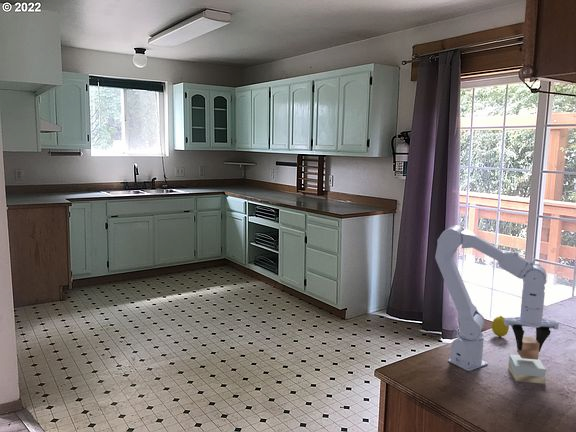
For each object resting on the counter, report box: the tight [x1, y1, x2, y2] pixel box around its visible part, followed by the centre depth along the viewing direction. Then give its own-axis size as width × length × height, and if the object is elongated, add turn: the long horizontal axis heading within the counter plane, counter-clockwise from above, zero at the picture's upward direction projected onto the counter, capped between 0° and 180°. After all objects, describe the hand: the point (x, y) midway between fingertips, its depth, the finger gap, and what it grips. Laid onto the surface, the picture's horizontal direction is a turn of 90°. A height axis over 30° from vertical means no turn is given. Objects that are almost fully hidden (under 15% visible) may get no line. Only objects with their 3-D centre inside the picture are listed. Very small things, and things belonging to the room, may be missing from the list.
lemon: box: [491, 315, 510, 338], centre depth 168 cm, size 6×6×8 cm
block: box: [516, 336, 540, 360], centre depth 139 cm, size 4×4×5 cm
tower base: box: [507, 362, 547, 385], centre depth 140 cm, size 8×8×2 cm
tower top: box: [508, 354, 547, 377], centre depth 140 cm, size 8×8×2 cm
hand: (528, 349), depth 139 cm, fingers closed on block, 4 cm apart
